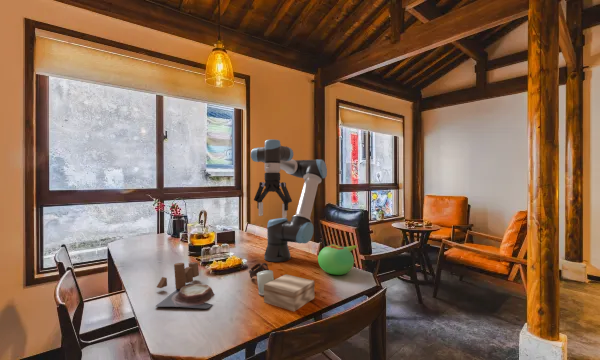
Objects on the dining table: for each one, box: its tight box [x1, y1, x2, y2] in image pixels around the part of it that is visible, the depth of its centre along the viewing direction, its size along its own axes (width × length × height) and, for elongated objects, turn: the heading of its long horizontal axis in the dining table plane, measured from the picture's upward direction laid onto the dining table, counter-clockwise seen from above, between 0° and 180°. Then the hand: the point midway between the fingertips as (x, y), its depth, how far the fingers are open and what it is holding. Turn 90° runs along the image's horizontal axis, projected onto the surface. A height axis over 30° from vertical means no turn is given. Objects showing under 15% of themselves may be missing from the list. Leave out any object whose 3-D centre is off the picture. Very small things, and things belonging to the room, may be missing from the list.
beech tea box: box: [263, 273, 316, 312], centre depth 111 cm, size 14×14×7 cm
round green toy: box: [317, 243, 358, 276], centre depth 142 cm, size 18×17×15 cm
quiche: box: [155, 283, 216, 310], centre depth 114 cm, size 21×20×4 cm
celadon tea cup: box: [256, 269, 275, 296], centre depth 117 cm, size 7×7×8 cm
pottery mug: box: [248, 262, 270, 279], centre depth 134 cm, size 12×9×8 cm
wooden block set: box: [156, 261, 200, 290], centre depth 125 cm, size 18×9×10 cm, turn 149°
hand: (272, 216), depth 137 cm, fingers open, 13 cm apart
